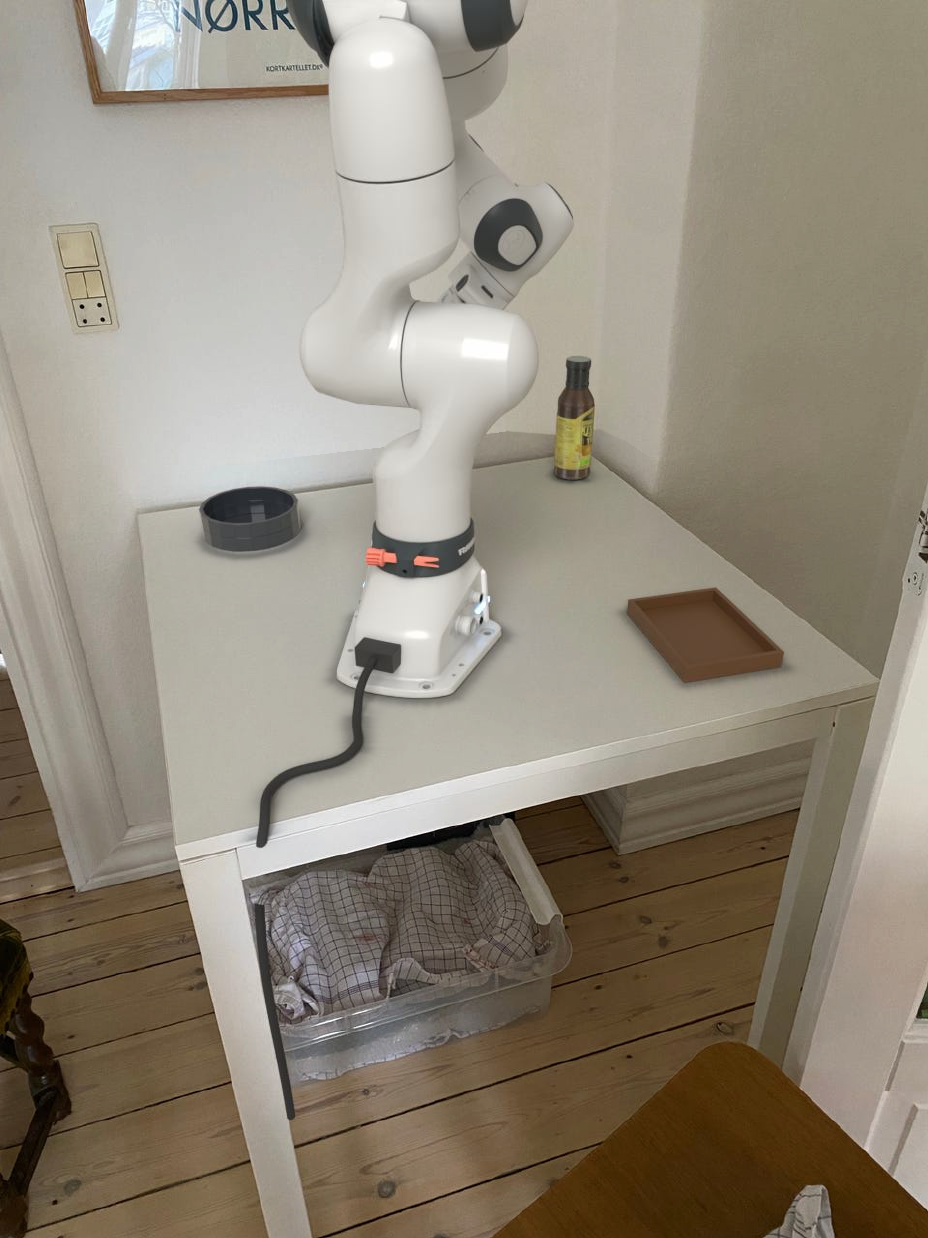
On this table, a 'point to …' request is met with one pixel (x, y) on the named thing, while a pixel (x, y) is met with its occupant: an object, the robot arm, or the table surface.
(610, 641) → the table surface
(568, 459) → the sauce bottle
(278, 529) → the bowl
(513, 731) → the table surface
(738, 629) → the tray
